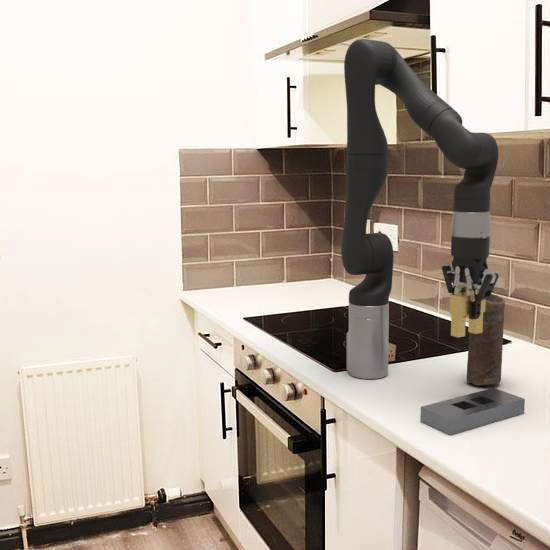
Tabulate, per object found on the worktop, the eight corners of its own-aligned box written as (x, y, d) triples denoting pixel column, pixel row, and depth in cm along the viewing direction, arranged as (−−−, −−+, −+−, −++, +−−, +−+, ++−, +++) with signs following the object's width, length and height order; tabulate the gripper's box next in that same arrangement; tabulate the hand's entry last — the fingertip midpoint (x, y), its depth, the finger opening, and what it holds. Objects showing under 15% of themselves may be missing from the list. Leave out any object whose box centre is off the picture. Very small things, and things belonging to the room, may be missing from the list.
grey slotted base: (420, 421, 136) (420, 406, 135) (492, 401, 146) (493, 387, 145) (450, 435, 129) (450, 419, 128) (524, 413, 139) (524, 398, 138)
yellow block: (449, 334, 144) (450, 294, 142) (473, 329, 147) (474, 290, 146) (459, 338, 141) (461, 296, 140) (484, 333, 145) (485, 292, 143)
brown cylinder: (495, 377, 160) (498, 292, 157) (506, 388, 153) (510, 299, 150) (462, 378, 160) (464, 293, 157) (472, 389, 153) (475, 300, 149)
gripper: (432, 231, 145) (430, 312, 148) (483, 238, 133) (480, 326, 136) (458, 229, 148) (455, 308, 151) (511, 235, 136) (507, 321, 140)
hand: (467, 316), depth 144 cm, fingers closed on yellow block, 3 cm apart
